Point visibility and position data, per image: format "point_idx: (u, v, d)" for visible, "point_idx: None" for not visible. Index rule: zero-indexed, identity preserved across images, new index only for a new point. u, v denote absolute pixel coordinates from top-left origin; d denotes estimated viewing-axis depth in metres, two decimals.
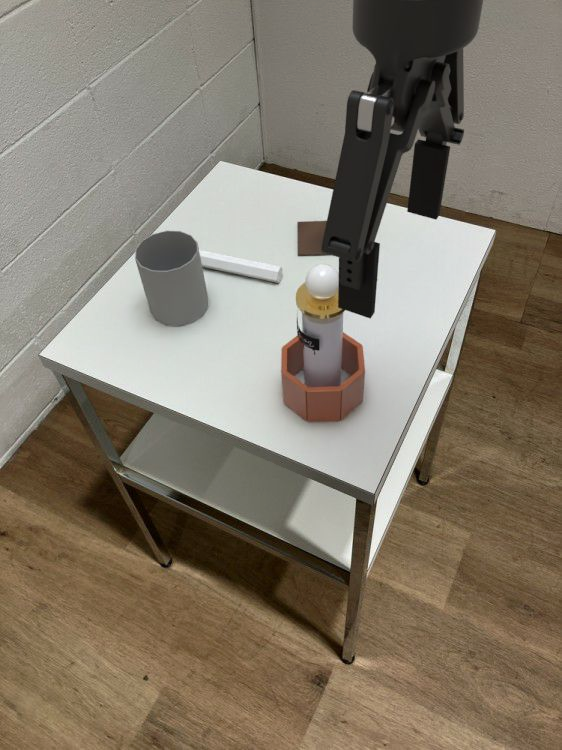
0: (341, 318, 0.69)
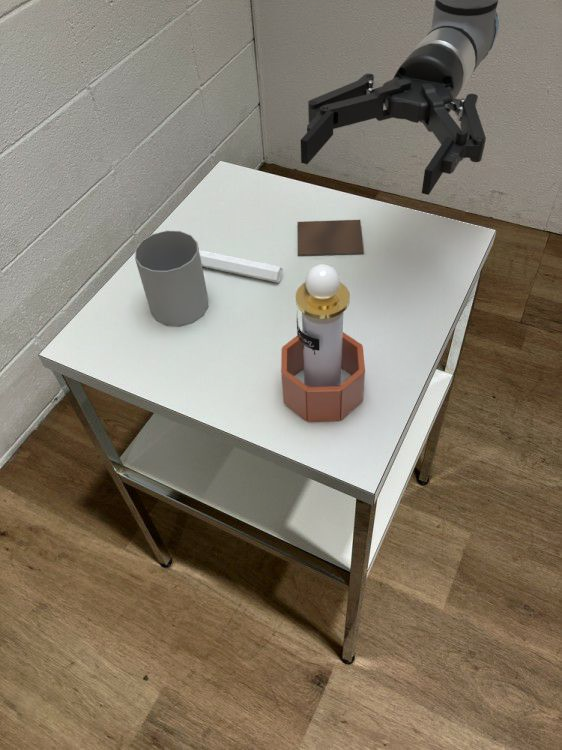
0: (341, 318, 0.69)
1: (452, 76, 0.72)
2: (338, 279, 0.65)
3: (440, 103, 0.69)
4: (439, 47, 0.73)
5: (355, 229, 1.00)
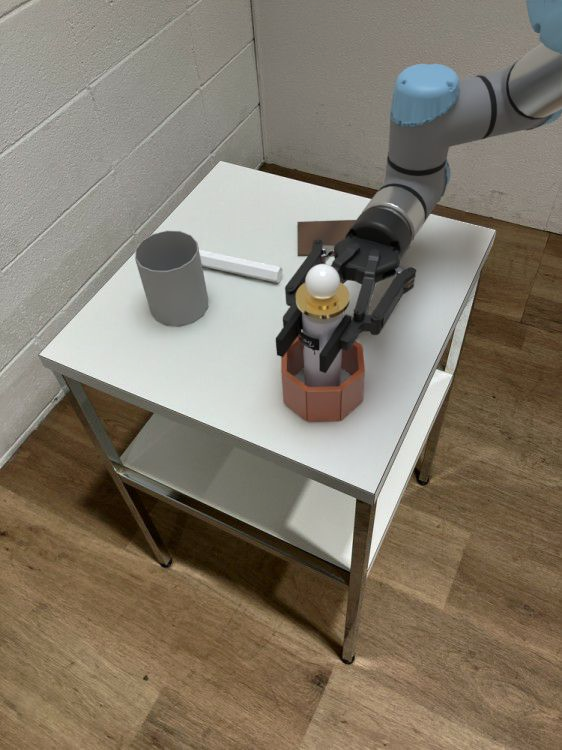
0: (341, 318, 0.69)
1: (399, 241, 0.76)
2: (338, 279, 0.65)
3: (371, 273, 0.73)
4: (387, 211, 0.77)
5: None
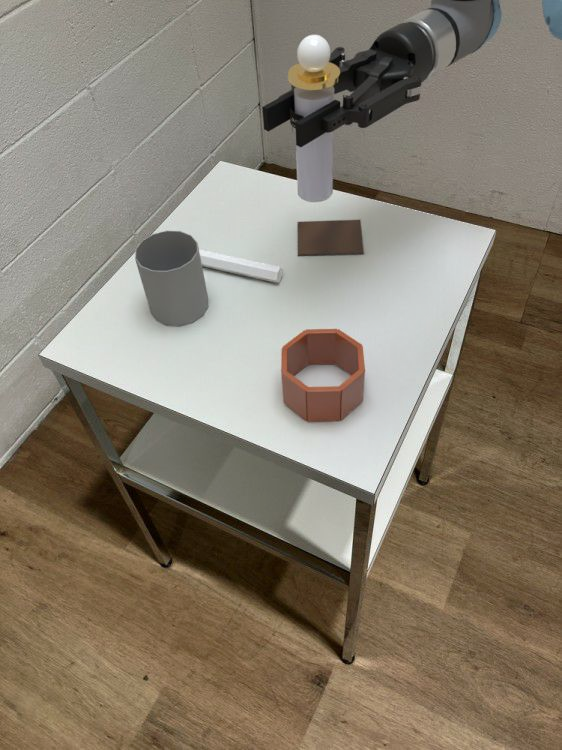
0: (329, 100, 0.71)
1: (416, 54, 0.77)
2: (327, 50, 0.68)
3: (376, 74, 0.75)
4: (413, 25, 0.77)
5: (355, 229, 1.00)
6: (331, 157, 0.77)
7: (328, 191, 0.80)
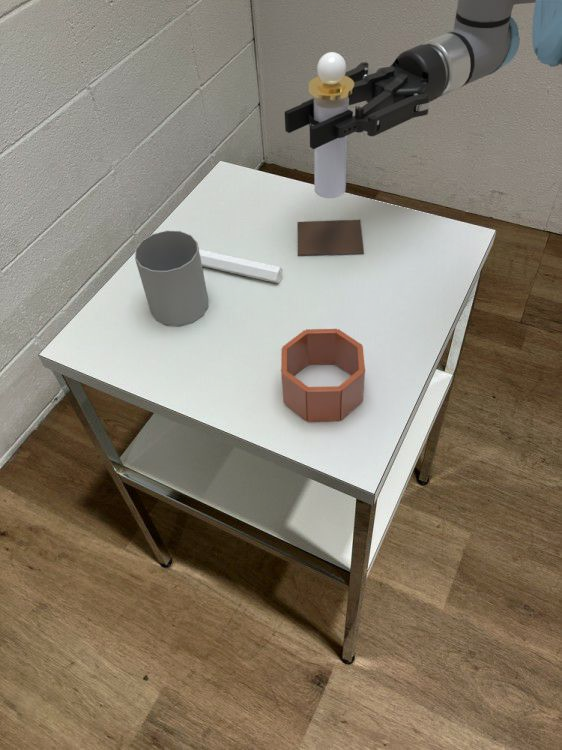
0: (342, 109, 0.81)
1: (429, 73, 0.86)
2: (342, 66, 0.78)
3: (390, 89, 0.84)
4: (430, 47, 0.86)
5: (355, 229, 1.00)
6: (344, 159, 0.87)
7: (340, 189, 0.90)
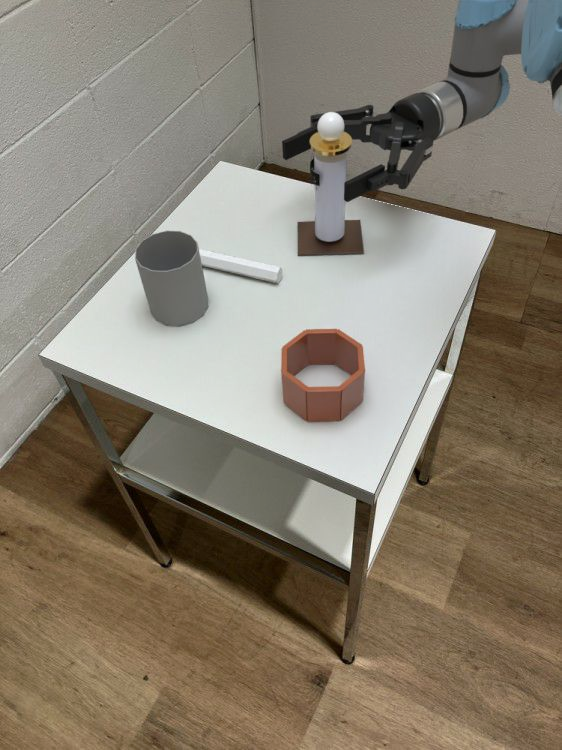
0: (341, 163, 0.87)
1: (424, 121, 0.91)
2: (341, 125, 0.84)
3: (398, 139, 0.89)
4: (425, 96, 0.92)
5: (355, 229, 1.00)
6: (343, 207, 0.93)
7: (339, 233, 0.96)
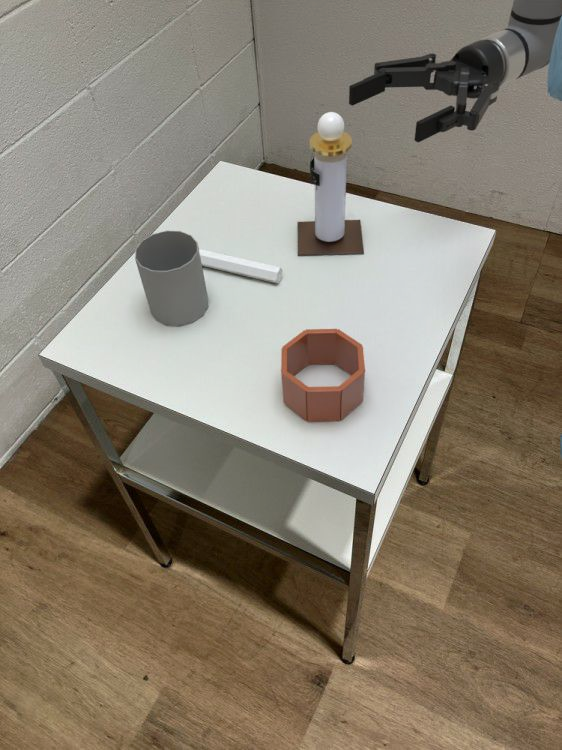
0: (341, 163, 0.87)
1: (489, 66, 0.92)
2: (341, 125, 0.84)
3: (465, 83, 0.90)
4: (489, 43, 0.93)
5: (355, 229, 1.00)
6: (343, 207, 0.93)
7: (339, 233, 0.96)
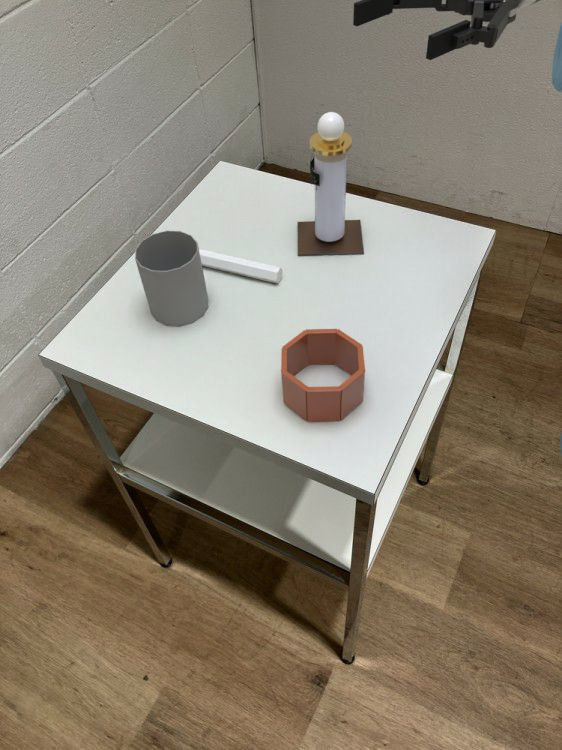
0: (341, 163, 0.87)
1: None
2: (341, 125, 0.84)
3: None
4: None
5: (355, 229, 1.00)
6: (343, 207, 0.93)
7: (339, 233, 0.96)
